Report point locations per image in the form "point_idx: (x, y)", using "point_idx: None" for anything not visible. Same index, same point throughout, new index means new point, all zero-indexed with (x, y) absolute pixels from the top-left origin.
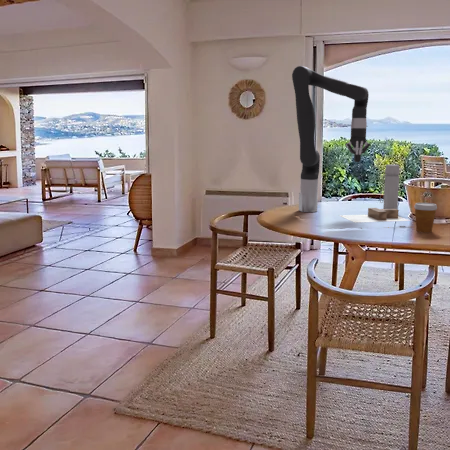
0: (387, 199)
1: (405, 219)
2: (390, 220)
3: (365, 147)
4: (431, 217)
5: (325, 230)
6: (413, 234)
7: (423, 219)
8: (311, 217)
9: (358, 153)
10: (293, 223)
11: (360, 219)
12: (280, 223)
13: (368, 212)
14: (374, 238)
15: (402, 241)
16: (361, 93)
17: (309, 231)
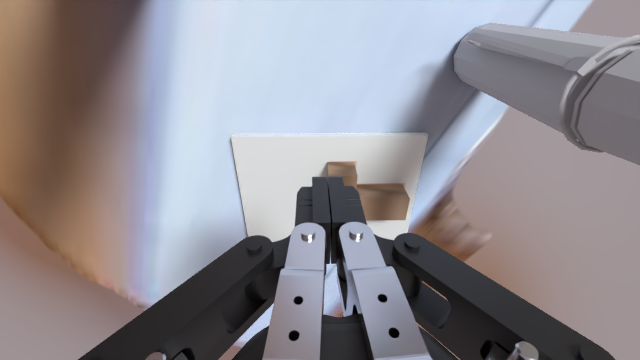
0: (480, 83)
1: (403, 225)
2: None
3: (457, 350)
4: None
5: (165, 275)
6: (334, 316)
7: None
8: (133, 110)
9: (337, 267)
10: (76, 197)
11: (279, 209)
12: (34, 192)
13: (327, 171)
14: (249, 331)
15: None
16: None
17: (127, 279)
